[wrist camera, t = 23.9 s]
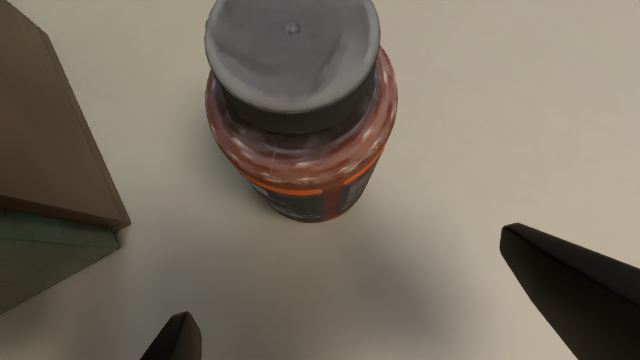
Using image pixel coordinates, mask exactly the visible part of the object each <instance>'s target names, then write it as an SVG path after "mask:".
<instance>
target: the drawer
mask: <svg viewBox="0 0 640 360" xmlns="http://www.w3.org/2000/svg"><path fill="white" fill-rule="evenodd" d="M117 249H119V246H118V244H117V242H116V239H115V237H114V235H113V232H112V230H111V228H109V227H103V226H98V225H92V224H86V223H80V222H75V221H69V220H63V219H58V218H52V217H46V216H40V215H35V214H29V213H23V212H18V211H12V210H6V209H0V314H2V313H4V312H5V311H7V310H9V309H11V308H13V307H14V306H16V305H18V304H20V303H22V302H23V301H25V300H27V299H29V298H31V297H32V296H34V295H36V294H38V293H40V292H41V291H43V290H45V289H47V288H49V287H50V286H52V285H54V284H56V283H58V282H59V281H61V280H63V279H65V278H67V277H68V276H70V275H72V274H74V273H76V272H77V271H79V270H81V269H83V268H85V267H86V266H88V265H90V264H92V263H94V262H95V261H97V260H99V259H101V258H103V257H105V256H106V255H108V254H110V253H112V252H114V251H115V250H117Z"/></svg>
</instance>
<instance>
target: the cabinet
mask: <svg viewBox="0 0 640 360" xmlns="http://www.w3.org/2000/svg"><path fill="white" fill-rule="evenodd" d="M0 209H6V210H12V211H18V212H23V213H29V214H35V215H40V216H46V217H52V218H58V219H63V220H69V221H75V222H80V223H86V224H92V225H98V226H103V227H109V228H111V230H112V232H113V233H115V232H116V231H118V230H120V229H122V228H124V227H125V226H127V225H129V224H131V221H130V219H129V217H128V215H127V212H126V210H125V208H124V206H123V203H122V201H121V199H120V197H119V194H118V192H117V190H116V188H115V185H114V183H113V181H112V179H111V176H110V174H109V172H108V170H107V168H106V165H105V163H104V161H103V159H102V156H101V154H100V152H99V150H98V147H97V145H96V143H95V141H94V138H93V136H92V134H91V132H90V129H89V127H88V125H87V123H86V120H85V118H84V116H83V114H82V111H81V109H80V107H79V105H78V102H77V100H76V98H75V96H74V93H73V91H72V89H71V87H70V84H69V82H68V80H67V78H66V76H65V73H64V71H63V69H62V67H61V64H60V62H59V60H58V58H57V55H56V53H55V51H54V49H53V46H52V44H51V42H50V40H49V37H48V35H47V34H46V33H45V32H44V31H43V30H41V29H40V28H39V27H38V26H36V24H34V23H33V22H32V21H31V20H30V19H28V18H27V17H26V16H25V15H24V14H22V13H21V12H20V11H19V10H18V9H16V8H15V7H14V6H13V5H12V4H10V3H9V2H8V1H7V0H0Z"/></svg>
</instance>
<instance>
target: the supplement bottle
mask: <svg viewBox="0 0 640 360" xmlns="http://www.w3.org/2000/svg"><path fill="white" fill-rule="evenodd" d="M204 40H205V52H206V56H207V59H208V62H209V65H210V68H211V70H210V73H209V78H208V80H207V88H206V91H205V105H206V113H207V118H208V122H209V126H210V129H211V131H212V134H213V136H214V138H215V140H216V142H217V144H218V146H219V147H220V149H221V150H222V152H223V153H224V154H225V156H226V157H227V158H228V159H229V161H230V162H231V163H232V164H233V165H234V166H235V167H236V169H237V170H238V171H239V172H240V174H241V175H242V176H244V178H245V179H246V180H247V181H248V182H249V183H250V184H251V185H252V186H253V187H254V188H255V189H256V191H257V192H258V193H259V194H260V195H261V196H262V197H263V198H264V199H265V200H266V201H267V202H268V204H269V205H271V206H272V207H273V208H274V209H275V210H276V211H278V212H279V213H281V214H282V215H284V216H286V217H288V218H291V219H293V220H296V221H300V222H304V223H317V222H324V221H328V220H331V219H333V218H336V217H338V216H340V215H342V214H343V213H345V212H346V211H347V210H349V209H350V208H351V207H352V206H353V205H354V204H355V202H356V201H357V200H358V199H359V197H360V196H361V194H362V193H363V191H364V189H365V187H366V185H367V183H368V181H369V179H370V176H371V174H372V172H373V171H374V168H375V166H376V164H377V162H378V160H379V158H380V156H381V153H382V152H383V150H384V147H385V144H386V142H387V140H388V138H389V136H390V134H391V131H392V128H393V126H394V122H395V118H396V112H397V102H398V94H397V85H396V80H395V74H394V70H393V68H392V65H391V63H390V60H389V58H388V56H387V54H386V53H385V51H384V50H383V48H382V47H381V45H380V24H379V18H378V15H377V12H376V9H375V7H374V4H373V2H372V1H371V0H217V1H216V2H215V4H214V6H213V8H212V10H211V12H210V14H209V18H208V20H207V21H206V31H205V37H204Z"/></svg>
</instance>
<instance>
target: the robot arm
mask: <svg viewBox="0 0 640 360" xmlns="http://www.w3.org/2000/svg"><path fill="white" fill-rule="evenodd" d="M500 252H501V255H502V256H503V258H504V259H505V261H506V263H507V264H508V266H509V267H510V269H511V270H512V272H513V273H514V275H515V276H516V278H517V280H518V281H519V283H520V284H521V286H522V287H523V289H524V290H525V292H526V293H527V295H528V296H529V298H530V299H531V301H532V302H533V304H534V305H535V306H536V307H537V309H538V310H539V311H540V313H541V314H542V315H543V316H544V318H545V319H546V320H547V321H548V323H549V324H550V325H551V326H552V328H553V329H554V330H555V331H556V333H557V334H558V335H559V336H560V338H561V339H562V340H563V341H564V343H565V344H566V345H567V346H568V348H569V349H570V350H571V351H572V353H573V354H574V355H575V356H576V358H577V359H578V360H640V269H639V268H636V267H634V266H631V265H629V264H626V263H623V262H621V261H618V260H615V259H613V258H610V257H608V256H605V255H602V254H600V253H597V252H594V251H592V250H589V249H586V248H584V247H581V246H579V245H576V244H573V243H571V242H568V241H565V240H563V239H560V238H557V237H555V236H552V235H550V234H547V233H544V232H542V231H539V230H536V229H534V228H531V227H528V226H526V225H523V224H520V223H513V224H509V225H506V226H504V227H503V228H502V231H501V239H500ZM140 360H202V336H201V331H200V328H199V327H198V325H197V323H196V322H195V320H194V318H193V317H192V315H191V314H190V313H189V312H188V311H187V312H186V311H185V312H182V313H178V314H175V315H173V316H172V317H171V318H170V319H169V320H168V322H167V323H166V324H165V326H164V327H163V328H162V330H161V331H160V333H159V334H158V335H157V337H156V338H155V339H154V341H153V342H152V343H151V345H150V346H149V348H148V349H147V350H146V352H145V353H144V354H143V356H142V357H141V358H140Z"/></svg>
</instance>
